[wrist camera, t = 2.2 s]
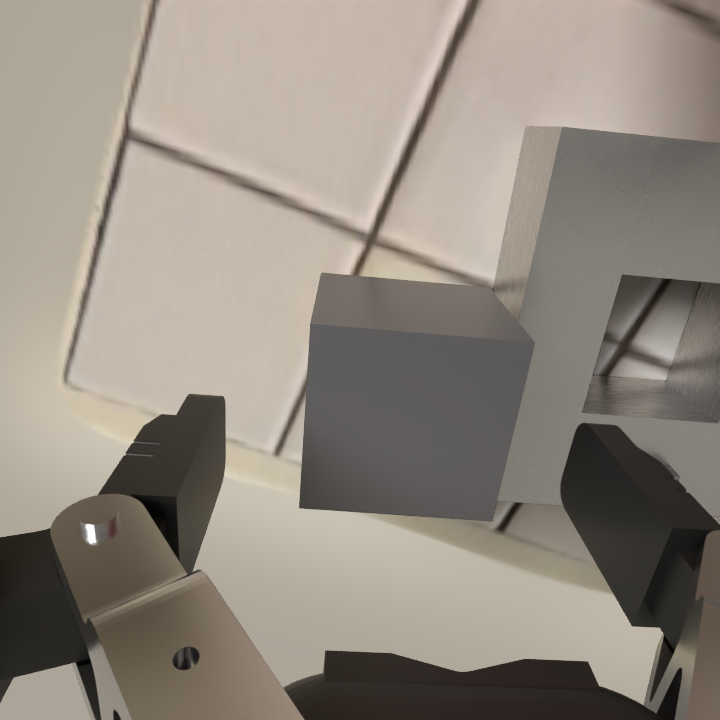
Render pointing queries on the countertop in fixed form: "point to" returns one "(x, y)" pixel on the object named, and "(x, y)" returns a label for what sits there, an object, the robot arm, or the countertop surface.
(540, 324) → the socket plate
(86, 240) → the countertop surface
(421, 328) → the plug
